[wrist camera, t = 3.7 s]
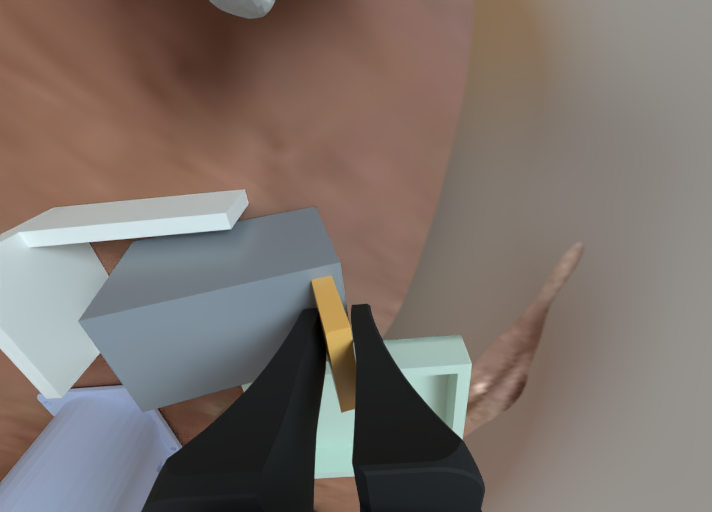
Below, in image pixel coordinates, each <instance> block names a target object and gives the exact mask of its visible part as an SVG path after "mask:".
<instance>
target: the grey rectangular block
mask: <svg viewBox="0 0 712 512" xmlns="http://www.w3.org/2000/svg"><path fill="white" fill-rule="evenodd" d="M310 308H318V312H319V317H320V322H321V327H322V332H323V337H324V341H325V346H326V362H329V366H330V370H331V374H332V378H333V382H334V386H335V390H336V394H337V398H338V402H339V406H340V410H341V413H343V412H346V411H349V410H353V409H355V393H356V360H355V353H354V347H353V340H352V333H351V326H350V324H349V319H348V312H347V305H346V299H345V292H344V285H343V278H342V271H341V264H340V261H339V258H338V256H337V254H336V251H335V249H334V247H333V245H332V242H331V240H330V238H329V235H328V233H327V231H326V229H325V226H324V224H323V222H322V219H321V217H320V215H319V213H318V210H317V208H316V206H315V207H310V208H304V209H299V210H294V211H289V212H284V213H278V214H273V215H268V216H263V217H258V218H252V219H247V220H242V221H237V222H236V223H235V224H234V226H233V227H232V229H228V230H217V231H206V232H195V233H184V234H173V235H164V236H159V237H154V238H148V239H143V240H138V241H133V243H132V244H131V245H130V247H129V248H128V250H127V251H126V253H125V254H124V256H123V257H122V258H121V260H120V261H119V263H118V264H117V266H116V267H115V268H114V270H113V271H112V273H111V274H110V276H109V277H108V279H107V280H106V281H105V283H104V284H103V286H102V287H101V289H100V290H99V292H98V293H97V294H96V296H95V297H94V299H93V300H92V302H91V303H90V305H89V306H88V307H87V309H86V310H85V312H84V313H83V315H82V316H81V317H80V319H79V320H78V322H79V323H80V325H81V326H82V328H83V329H84V331H85V332H86V333H87V335H88V336H89V338H90V339H91V340H92V342H93V343H94V345H95V346H96V347H97V349H98V350H99V352H100V353H101V355H102V356H103V357H104V359H105V360H106V362H107V363H108V364H109V366H110V367H111V369H112V370H113V371H114V373H115V374H116V376H117V377H118V379H119V380H120V381H121V383H122V384H123V386H124V387H125V388H126V390H127V391H128V393H129V394H130V395H131V397H132V398H133V400H134V401H135V403H136V404H137V405H138V407H139V408H140V410H141V411H142V412H146V411H150V410H153V409H157V408H161V407H164V406H168V405H172V404H175V403H179V402H182V401H186V400H190V399H193V398H197V397H201V396H204V395H208V394H211V393H215V392H219V391H222V390H226V389H230V388H233V387H237V386H240V385H244V384H248V383H251V382H254V381H255V379H256V378H257V377H258V376H259V375H260V373H261V372H262V371H263V370H264V368H265V367H266V366H267V364H268V363H269V362H270V360H271V359H272V358H273V356H274V355H275V354H276V352H277V351H278V349H279V348H280V346H281V345H282V343H283V342H284V340H285V339H286V337H287V336H288V334H289V333H290V331H291V329H292V328H293V326H294V324H295V323H296V321H297V319H298V317H299V315H300V314H301V312H302V311H303V310H304V309H310Z"/></svg>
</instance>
